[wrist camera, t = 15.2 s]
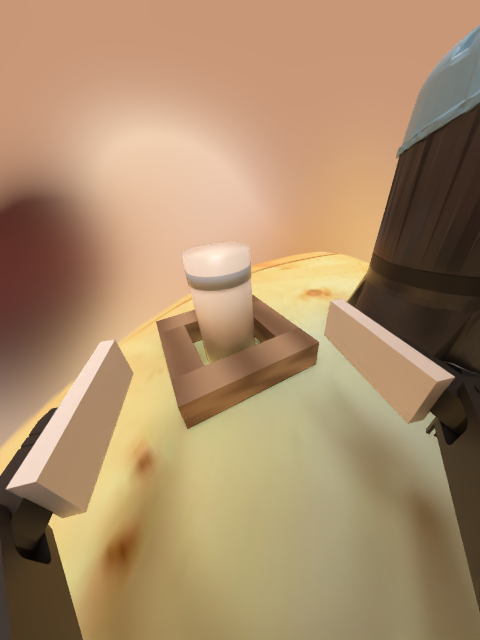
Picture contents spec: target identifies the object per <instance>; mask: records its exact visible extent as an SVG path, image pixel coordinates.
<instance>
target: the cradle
mask: <svg viewBox="0 0 480 640" xmlns="http://www.w3.org/2000/svg"><path fill="white" fill-rule="evenodd" d="M252 303H253V320H254V336H255V337H256V338H257V339H258V340H259V341H260V342H261V343H260V344H257V345H255V346H252V347H250V348H248V349H245V350H243V351H240V352H238V353H235V354H233V355H230V356H228V357H226V358H223V359H221V360H218V361H216V362H213V363H211V364H209V365H206V366H204V365H203V363H202V361H201V359H200V357H199V355H198V353H197V351H196V349H195V347H194V344H193V342H196V341H199V340H202V336H201V332H200V328H199V324H198V320H197V315H196V311H195V310H192V311H189V312H186V313H183V314H179V315H176V316H173V317H169V318H166V319H163V320H160V321H156V323H157V327H158V331H159V335H160V338H161V342H162V346H163V350H164V354H165V358H166V362H167V365H168V369H169V373H170V377H171V381H172V385H173V389H174V392H175V396H176V400H177V404H178V408H179V410H180V412H181V415H182V417H183V419H184V421H185V424H186V426H187V428H190V427H192V426H194V425H196V424H198V423H200V422H202V421H204V420H206V419H208V418H210V417H212V416H214V415H216V414H218V413H220V412H222V411H224V410H225V409H227V408H229V407H231V406H233V405H235V404H237V403H239V402H241V401H243V400H245V399H247V398H249V397H251V396H253V395H255V394H257V393H259V392H261V391H263V390H265V389H267V388H269V387H271V386H273V385H275V384H277V383H279V382H281V381H283V380H285V379H287V378H289V377H291V376H293V375H295V374H297V373H299V372H301V371H303V370H305V369H307V368H309V367H310V366H312V365H314V364H316V358H317V352H318V346H319V342H318V341H317V340H315V339H314V338H313V337H311V336H310V335H308V334H307V333H306V332H304V331H303V330H301V329H300V328H299V327H297V326H296V325H294V324H293V323H292V322H290V321H289V320H287V319H286V318H285V317H283V316H282V315H280V314H279V313H277V312H276V311H275V310H273V309H272V308H270V307H269V306H268V305H266V304H265V303H263V302H262V301H261V300H259V299H258V298H256V297H255V296H254V295H252Z"/></svg>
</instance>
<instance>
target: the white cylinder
mask: <svg viewBox="0 0 480 640" xmlns="http://www.w3.org/2000/svg"><path fill="white" fill-rule="evenodd" d="M182 258H183V262H184V267H185V273H186V277H187V281H188V284H189V287H190V291H191V295H192V299H193V303H194V307H195V311H196V315H197V320H198V324H199V328H200V332H201V336H202V340H203V344H204V348H205V352H206V356H207V359H208V361H209V362H210V363H213V362H216V361H218V360H221V359H223V358H226V357H228V356H230V355H233V354H235V353H238V352H240V351H243V350H245V349H248V348H250V347H252V346H255V336H254V320H253V303H252V287H251V263H250V255H249V246H248V245H247V244H245V243H239V242H219V243H210V244H205V245H200V246H196V247H193V248H190V249H188V250H186V251H184V252H183V253H182Z"/></svg>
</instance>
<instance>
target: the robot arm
mask: <svg viewBox="0 0 480 640" xmlns="http://www.w3.org/2000/svg"><path fill="white" fill-rule="evenodd" d="M396 158H399V160H398V164H397V168H396V171H395V175H394V179H393V182H392V186H391V190H390V194H389V197H388V201H387V205H386V208H385V212H384V215H383V219H382V222H381V226H380V229H379V233H378V236H377V240H376V243H375V247H374V251H373V255H372V258H371V262H370V265H369V268H368V271H367V273H366V275H365V276H364V278H363V279H362V281H361V282H360V283H359V285H358V286H357V288H356V289H355V291H354V292H353V294H352V295H351V297H350V298H349V300H348V301H347V302H345V301H344V300H343V299H337V300H332V301H330V306H329V312H328V317H327V323H326V328H325V334H324V335H325V336H326V337H327V338H328V339H329V340H330V342H331V343H332V344H333V345H334V346H335V347H336V348H337V349H338V350H339V351H340V352H341V353H342V354H343V355H344V356H345V357H346V358H347V360H348V361H349V362H350V363H351V364H352V365H353V366H354V367H355V368H356V369H357V370H358V371H359V372H360V373H361V374H362V375H363V376H364V378H365V379H366V380H367V381H368V382H369V383H370V384H371V385H372V386H373V387H374V388H375V389H376V390H377V391H378V392H379V393H380V394H381V396H382V397H383V398H384V399H385V400H386V401H387V402H388V403H389V404H390V405H391V406H392V407H393V408H394V409H395V410H396V411H397V412H398V414H399V415H400V416H401V417H402V418H403V419H404V420H405V421H406V422H407V423H408V424H409V423H413V422H417V421H420V420H424V418H425V417H426V416H427V414H428V413H429V412H431V413H432V414H434V415H435V416H436V417H435V419H434V420H433V421H432V422H431V424H430V425H429V426H428V427H427V429H426V433H428V434H430V433H431V432H432V430H433V429H434V428H435V430H436V433H435V434H434V436H436V437H437V439H438V443H439V447H440V451H441V455H442V459H443V463H444V467H445V471H446V475H447V479H448V484H449V488H450V492H451V496H452V500H453V504H454V508H455V512H456V516H457V520H458V524H459V529H460V533H461V537H462V541H463V545H464V549H465V553H466V557H467V561H468V565H469V569H470V574H471V578H472V582H473V586H474V590H475V594H476V598H477V602H478V606H479V610H480V25H479V26H478V27H476V28H475V29H474V30H473V31H472V32H470V33H469V34H468V35H467V36H466V37H464V38H463V39H462V40H461V41H460V42H458V43H457V44H456V45H455V46H454V47H453V48H452V49H451V50H450V51H449V52H448V53H447V54H446V55H445V56H444V57H443V58H442V59H441V61H440V62H439V63H438V64H437V65H436V67H435V68H434V69H433V70H432V72H431V73H430V75H429V76H428V77H427V79H426V81H425V83H424V84H423V86H422V88H421V90H420V92H419V95H418V97H417V101H416V104H415V107H414V110H413V113H412V116H411V119H410V122H409V125H408V128H407V131H406V134H405V137H404V140H403V144H402V146H401V147H400V148H399V149H398V152H397V156H396ZM133 374H134V373H133V371H132V370H131V368H130V366H129V364H128V362H127V361H126V359H125V357H124V355H123V353H122V352H121V350H120V348H119V346H118V344H117V343H116V341H115V340H110V341H104V342H100V344H99V345H98V347H97V348H96V350H95V352H94V353H93V354H92V356H91V358H90V359H89V361H88V362H87V364H86V365H85V367H84V368H83V370H82V371H81V373H80V375H79V376H78V378H77V379H76V381H75V382H74V384H73V385H72V387H71V389H70V390H69V392H68V393H67V395H66V396H65V398H64V399H63V401H62V402H61V404H60V406H59V407H58V408H53V409H51V410H50V411H49V412H48V413H47V414H46V415H44V416H43V417H42V418H41V419H40V420H39V421H38V423H37V424H36V425H35V427H34V428H33V430H32V431H31V433H30V434H29V437H28V438H26V440H25V441H24V443H23V444H22V446H21V449H19V450H18V451H17V453H16V454H15V456H14V457H13V459H12V460H11V461H10V463H9V464H8V466H7V467H6V469H5V470H4V471H3V473H2V474H1V476H0V640H83V638H82V635H81V631H80V627H79V624H78V620H77V617H76V613H75V610H74V606H73V602H72V599H71V595H70V592H69V588H68V585H67V581H66V577H65V574H64V570H63V567H62V563H61V560H60V556H59V552H58V549H57V545H56V542H55V538H54V535H53V531H52V529H51V527H50V526H49V525H48V523H49V520H50V518H51V516H52V514H53V513H54V514H55V515H57V516H59V517H61V518H65V517H69V516H72V515H76V514H80V513H83V512H86V510H87V507H88V504H89V502H90V499H91V496H92V493H93V490H94V487H95V484H96V481H97V478H98V475H99V472H100V470H101V467H102V464H103V461H104V458H105V455H106V452H107V449H108V446H109V443H110V440H111V438H112V435H113V432H114V429H115V426H116V423H117V420H118V417H119V414H120V411H121V408H122V406H123V403H124V400H125V397H126V394H127V391H128V388H129V385H130V382H131V379H132V376H133Z"/></svg>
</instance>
